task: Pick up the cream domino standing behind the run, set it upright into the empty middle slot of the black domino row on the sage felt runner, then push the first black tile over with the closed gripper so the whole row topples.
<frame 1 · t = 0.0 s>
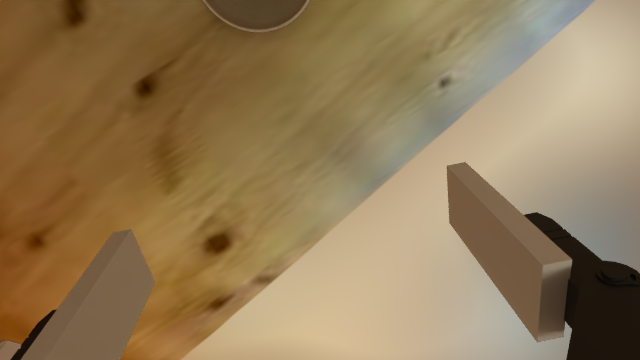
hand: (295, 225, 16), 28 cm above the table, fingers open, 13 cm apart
cup 3: (11, 353, 54), on the table
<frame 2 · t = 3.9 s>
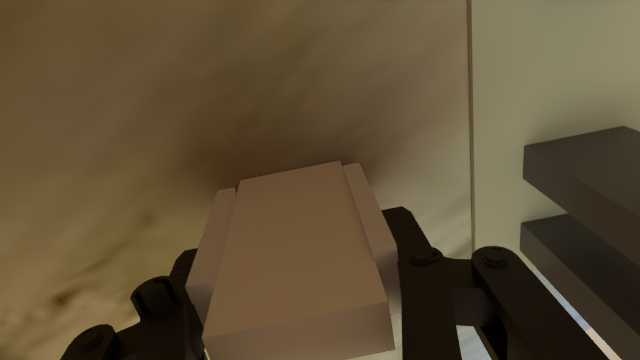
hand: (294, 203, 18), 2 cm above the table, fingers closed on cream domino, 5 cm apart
felt runner: (575, 60, 18), on the table
domino 4: (572, 152, 20), resting on felt runner
cream domino: (293, 186, 20), on the table, touching gripper
domino 5: (564, 227, 22), resting on felt runner
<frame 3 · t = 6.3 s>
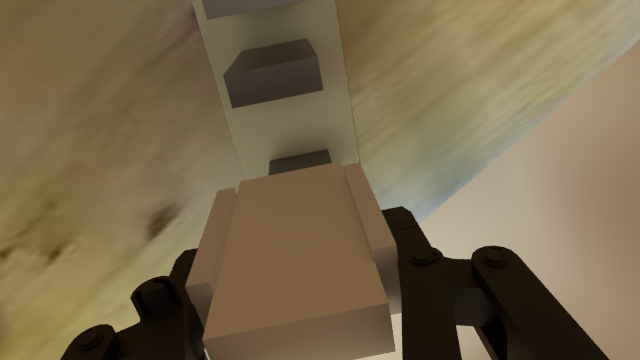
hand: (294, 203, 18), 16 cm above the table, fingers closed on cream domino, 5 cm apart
felt runner: (289, 112, 32), on the table
domino 4: (300, 164, 34), resting on felt runner
cream domino: (294, 187, 20), point 14 cm above the table, touching gripper
domino 2: (276, 56, 30), resting on felt runner
when the fingers open (3 cm above the table, at t = 8.8 s): cream domino stays where it is, resting on felt runner.
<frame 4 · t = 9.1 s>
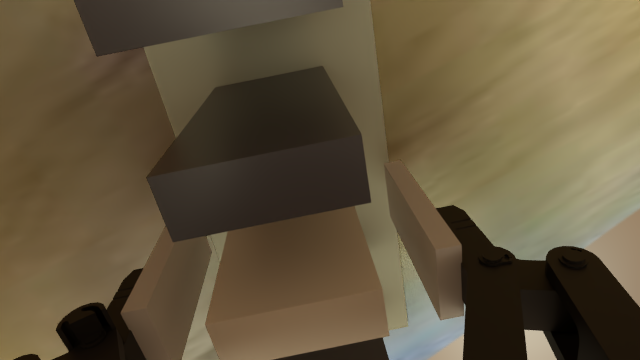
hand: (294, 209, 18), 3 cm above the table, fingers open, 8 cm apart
felt runner: (293, 178, 21), on the table
domino 4: (310, 252, 22), resting on felt runner
cream domino: (293, 182, 20), resting on felt runner
domino 2: (273, 95, 18), resting on felt runner
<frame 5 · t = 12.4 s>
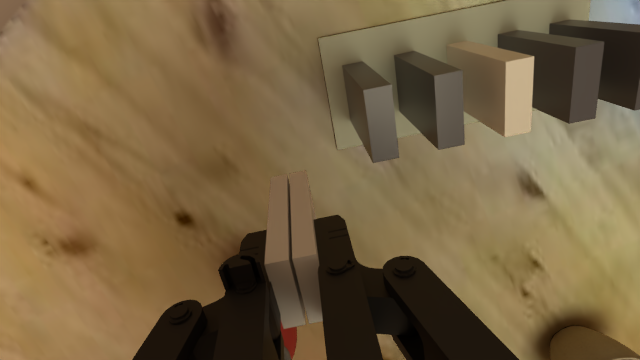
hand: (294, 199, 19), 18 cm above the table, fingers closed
beer can: (263, 269, 43), on the table
felt runner: (455, 71, 35), on the table
domino 4: (507, 61, 35), resting on felt runner
cream domino: (457, 72, 35), resting on felt runner
flower pot: (567, 339, 51), on the table
domino 5: (557, 51, 35), resting on felt runner
domino 1: (356, 92, 35), resting on felt runner
domino 2: (406, 82, 35), resting on felt runner
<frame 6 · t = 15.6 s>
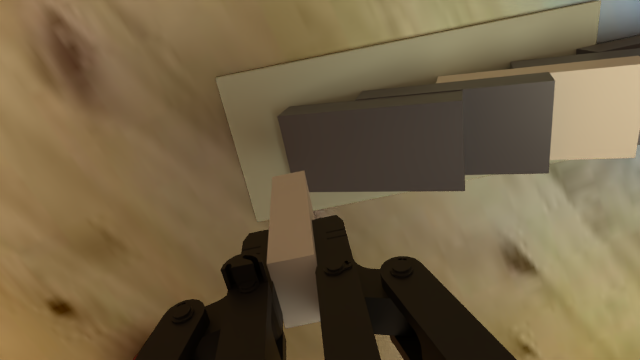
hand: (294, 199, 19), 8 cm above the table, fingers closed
felt runner: (412, 119, 26), on the table
domino 4: (510, 105, 25), point 1 cm above the table, tilted 66°, touching cream domino, domino 5
cream domino: (439, 120, 25), point 1 cm above the table, tilted 66°, touching domino 2, domino 4, felt runner
domino 5: (582, 92, 24), point 1 cm above the table, tilted 93°, touching domino 4, felt runner
domino 1: (292, 150, 25), point 1 cm above the table, tilted 67°, touching domino 2, felt runner
domino 2: (364, 134, 25), point 1 cm above the table, tilted 67°, touching cream domino, domino 1, felt runner
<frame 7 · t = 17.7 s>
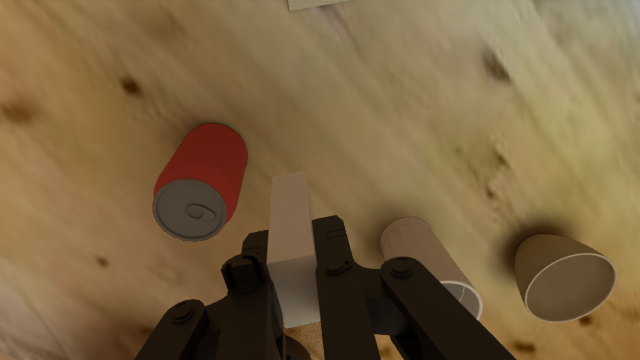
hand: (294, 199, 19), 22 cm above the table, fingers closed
beer can: (216, 151, 41), on the table
cup 2: (406, 238, 48), on the table
flower pot: (534, 249, 50), on the table
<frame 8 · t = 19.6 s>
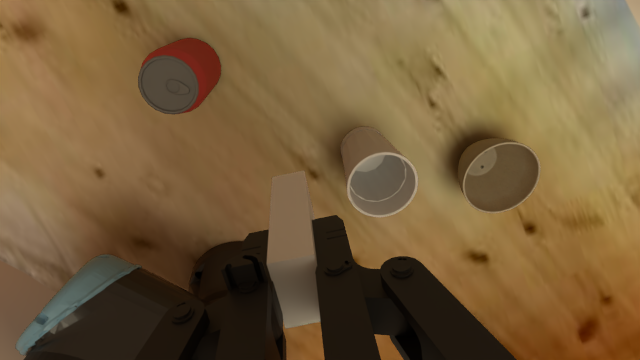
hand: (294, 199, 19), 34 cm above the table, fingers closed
beer can: (194, 65, 49), on the table
cup 2: (362, 148, 55), on the table
flower pot: (476, 158, 57), on the table
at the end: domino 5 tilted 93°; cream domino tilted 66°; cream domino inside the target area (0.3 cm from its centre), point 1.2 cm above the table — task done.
